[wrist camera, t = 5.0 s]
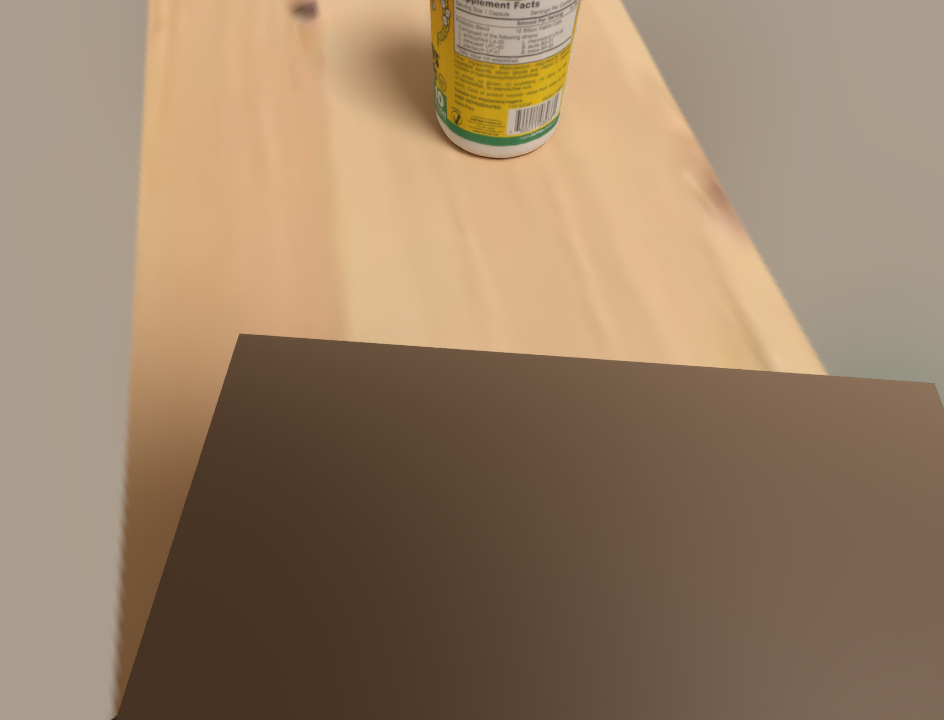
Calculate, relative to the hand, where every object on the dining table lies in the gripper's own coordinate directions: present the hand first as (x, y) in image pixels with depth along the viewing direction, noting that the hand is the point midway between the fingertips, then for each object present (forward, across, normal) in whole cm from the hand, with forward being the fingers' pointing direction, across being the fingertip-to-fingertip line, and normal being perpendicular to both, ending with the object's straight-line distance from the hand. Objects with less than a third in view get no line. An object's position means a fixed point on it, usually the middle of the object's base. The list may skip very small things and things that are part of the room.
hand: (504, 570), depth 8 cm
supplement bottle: (+18, +1, -8) cm, 20 cm away
